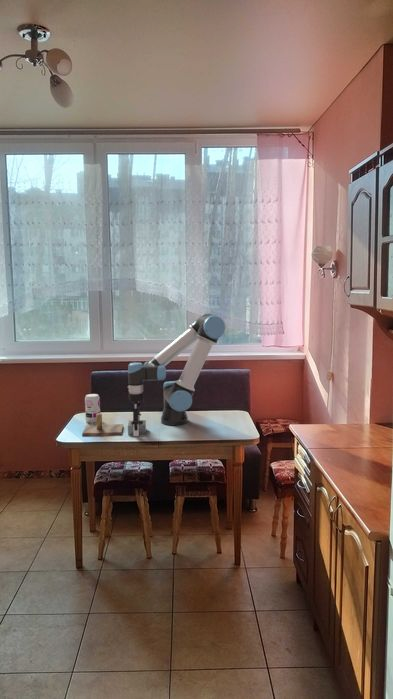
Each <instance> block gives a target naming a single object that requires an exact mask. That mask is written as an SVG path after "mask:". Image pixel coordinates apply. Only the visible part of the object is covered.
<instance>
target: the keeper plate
mask: <svg viewBox="0 0 393 699" xmlns="http://www.w3.org/2000/svg"><path fill="white" fill-rule="evenodd" d="M95 423H96V424H87V425H85V426H84V429H83V431H82V433H81V435H82V437H97V436H98V437H100V436H101V437H102V436H122V434H123V430H124V424H123V423H122V424H121V423H119V424H117V423H116V424H103V414H102V413H101V412H100V413H98V414H96V422H95Z"/></svg>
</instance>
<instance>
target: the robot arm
mask: <svg viewBox="0 0 393 699" xmlns="http://www.w3.org/2000/svg"><path fill="white" fill-rule="evenodd" d="M225 331H226V324H225V322H224V320H223V319H222V318H221V317H220V316H218V315H216V314H211V313H204V314H202V315H201V316H199V317H198V318H197V319H196V320H195V321H193V322H192V323H191V324H190V325H189V326H188V329H187V330H186V331H184V332H183V333H182V334H181V335H179V336H178V337H177V338H176V339H174V341H172V342H171V343H170V344H169V345H167V346H166V347H165V348H163V349H162V350H161V351H160V352H159V353H158V354H156V355H155V356H154V357H153V358H151V359H150V360H148V361H145V362H144V363H142V362H130V363H129V364H128V366H127V367H128V368H127V370H128V371H127V378H128V386H127V389H128V400H129V401H130V402H132V405H131V408H132V413H133V414H132V416H133V417H132V421H133V423H132V424H133V435H132V436H133V437H139V436H140V435H139V423H138V420H141V419H140V416H142V413H141V410H140V409H141V401H143V400H144V382H148V381H164V380H166V378H167V369H166V366H167V365H168V364H170V362H172V361H173V360H174V359H175V358H177V357H178V356H179V355H180V354H181V353H183V352H184V351H185V350H186V349H188V348H189V347H190V346H192V345H193V344H194V346H193V347H192V350H191V352H190V355H189V357H188V359H187V361H186V363H185V366H184V368H183V369H182V372H181V374H180V377H179V379H177V380H173V381H172V380H170V381H165V382H164V383H163V387H162V390H163V411H162V413H161V416H160V423H161V424H163V425H166V426H168V425H169V426H182V425H185V424H187V423H188V422H189V417H188V414H187V410H188V409H190V408H191V406H192V404H193V396H194V394H195V391H196V389H195V384H196V382H197V379H198V378H199V376H200V374H201V372H202V368H203V367H204V364H205V362H206V360H207V358H208V356H209V354H210V352H211V350H212V347H213V345H216V344H217V343H218V340H219V338H221V337H222V336H223V335H224V334H225ZM134 421H137V422H134Z"/></svg>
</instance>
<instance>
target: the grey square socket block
mask: <svg viewBox="0 0 393 699" xmlns="http://www.w3.org/2000/svg"><path fill="white" fill-rule="evenodd" d="M134 422H137V421H134ZM132 423H133V420H128V424H127V435H128V436H133V424H132ZM138 423H139V436H140V435H142V436H143V435H146V434H147V420H146V419H145V420H143V419H142V420H141V419H140V420H138Z"/></svg>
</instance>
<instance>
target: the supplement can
mask: <svg viewBox="0 0 393 699" xmlns="http://www.w3.org/2000/svg"><path fill="white" fill-rule="evenodd" d="M100 398H101V397H100V396H99V394H98V393H89V394H86V395H85V397H84V407H85V408H84V409H85V421H86V422H87V423H91V424H95V423H96V414H98V413H101V399H100Z"/></svg>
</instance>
